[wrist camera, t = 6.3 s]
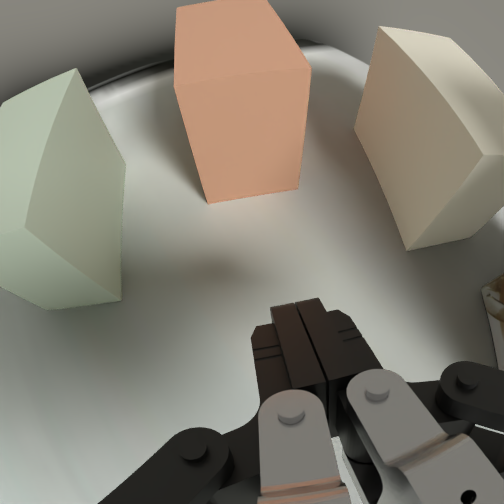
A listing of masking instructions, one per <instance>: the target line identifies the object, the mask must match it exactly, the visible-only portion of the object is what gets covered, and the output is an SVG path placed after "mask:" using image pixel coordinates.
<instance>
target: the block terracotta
mask: <svg viewBox="0 0 504 504" xmlns="http://www.w3.org/2000/svg"><path fill="white" fill-rule="evenodd" d="M311 71H312V68H311V66H310V64H309V63H308V61H307V59H306V58H305V56H304V55H303V53H302V51H301V50H300V48H299V47H298V45H297V44H296V42H295V40H294V39H293V37H292V36H291V34H290V33H289V31H288V30H287V29H286V27H285V25H284V24H283V23H282V21H281V20H280V18H279V17H278V15H277V14H276V13H275V11H274V10H273V9H272V7H271V6H270V4H269V3H268V2H267V0H217V1H210V2H204V3H199V4H193V5H188V6H183V7H178V8H177V14H176V34H175V57H174V89H175V93H176V96H177V100H178V104H179V107H180V111H181V114H182V118H183V121H184V125H185V128H186V132H187V135H188V139H189V142H190V146H191V149H192V153H193V156H194V159H195V163H196V166H197V170H198V173H199V176H200V180H201V183H202V186H203V190H204V193H205V196H206V200H207V203H208V204H212V203H217V202H223V201H228V200H234V199H240V198H246V197H252V196H258V195H264V194H270V193H276V192H283V191H290V190H296V189H298V185H299V177H300V169H301V161H302V153H303V145H304V137H305V128H306V119H307V110H308V101H309V91H310V81H311Z"/></svg>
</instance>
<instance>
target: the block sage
mask: <svg viewBox="0 0 504 504" xmlns="http://www.w3.org/2000/svg"><path fill="white" fill-rule="evenodd" d="M125 172H126V163H125V161H124V160H123V158H122V156H121V154H120V152H119V150H118V149H117V147H116V145H115V143H114V141H113V139H112V137H111V135H110V134H109V132H108V130H107V128H106V126H105V124H104V122H103V120H102V118H101V116H100V114H99V112H98V110H97V108H96V106H95V105H94V103H93V101H92V99H91V97H90V95H89V92H88V90H87V88H86V86H85V85H84V82H83V80H82V78H81V76H80V74H79V72H78V70H77V68H76V69H73V70H70V71H68V72H65V73H63V74H61V75H58V76H56V77H54V78H52V79H49V80H47V81H45V82H43V83H41V84H38V85H36V86H34V87H32V88H30V89H28V90H26V91H24V92H22V93H20V94H18V95H17V96H15V97H13V98H11V99H9V100H7V101H6V102H4V103H3V104H2V106H1V107H0V287H2V288H4V289H6V290H7V291H9V292H11V293H13V294H15V295H17V296H19V297H21V298H23V299H25V300H27V301H29V302H31V303H33V304H35V305H37V306H39V307H41V308H43V309H45V310H48V311H49V310H56V309H64V308H72V307H80V306H87V305H95V304H102V303H109V302H116V301H122V289H121V244H122V215H123V197H124V183H125Z"/></svg>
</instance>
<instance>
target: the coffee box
mask: <svg viewBox="0 0 504 504" xmlns="http://www.w3.org/2000/svg"><path fill="white" fill-rule="evenodd" d="M481 292H482V296H483V300H484V303H485V307H486V311H487V315H488V319H489V323H490V327H491V332H492V336H493V341H494V346H495V352H496V357H497V363H498V369H499V370H503V371H504V273H503V274H501V275H500V276H498V277H497V278H495V279H494V280H492V281H490V282H489V283H487V284H486V285H484V286H483V287H482V289H481Z"/></svg>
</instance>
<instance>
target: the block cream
mask: <svg viewBox="0 0 504 504" xmlns="http://www.w3.org/2000/svg"><path fill="white" fill-rule="evenodd" d="M354 131H355V133H356V135H357V137H358V139H359V141H360V143H361V145H362V147H363V149H364V151H365V153H366V155H367V157H368V159H369V161H370V163H371V166H372V168H373V170H374V172H375V174H376V177H377V179H378V181H379V183H380V186H381V188H382V190H383V193H384V195H385V197H386V200H387V202H388V204H389V207H390V209H391V212H392V214H393V217H394V219H395V222H396V224H397V227H398V230H399V232H400V235H401V238H402V240H403V243H404V246H405V249H406V251H410V250H414V249H419V248H424V247H429V246H433V245H438V244H443V243H447V242H452V241H456V240H461V239H465V238H470V237H472V236H473V235H474V234H475V233H476V232H477V231H478V230H479V229H480V228H482V227H483V226H484V225H485V224H486V223H487V222H488V221H489V220H490V219H491V218H492V217H493V216H494V215H495V214H496V213H497V212H498V211H499V210H500V209H501V208H502V207H503V206H504V94H503V93H502V91H501V90H500V89H499V88H498V87H497V86H496V84H495V83H494V82H493V81H492V80H491V79H490V78H489V77H488V75H487V74H486V73H485V72H484V71H483V70H482V69H481V68H480V67H479V66H478V65H477V64H476V63H475V62H474V61H473V60H472V59H471V58H470V57H469V56H468V55H467V54H466V53H465V52H464V51H463V50H462V49H461V48H460V47H459V46H458V45H457V44H456V43H455V42H454V41H453V40H451V39H450V38H447V37H442V36H438V35H433V34H428V33H423V32H417V31H411V30H404V29H398V28H390V27H382V26H379V27H378V32H377V37H376V41H375V45H374V50H373V54H372V59H371V63H370V67H369V71H368V75H367V79H366V83H365V87H364V91H363V95H362V99H361V103H360V107H359V111H358V114H357V118H356V122H355V125H354Z"/></svg>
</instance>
